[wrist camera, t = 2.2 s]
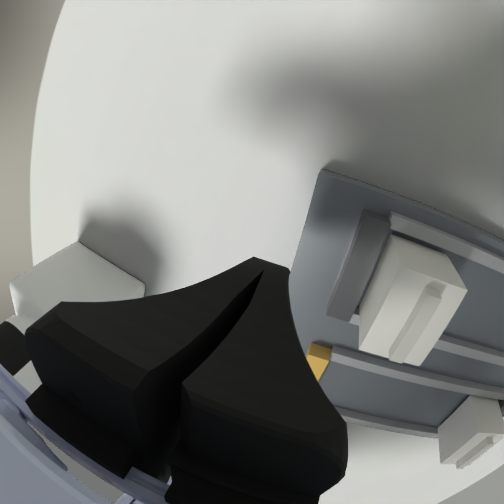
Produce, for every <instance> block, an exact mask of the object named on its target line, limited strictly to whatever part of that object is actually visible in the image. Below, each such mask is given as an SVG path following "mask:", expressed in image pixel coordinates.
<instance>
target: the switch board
mask: <svg viewBox="0 0 504 504" xmlns="http://www.w3.org/2000/svg"><path fill="white" fill-rule="evenodd" d="M391 234H393V235H396V236H398V237H401V238H404V239H407V240H409V241H412V242H415V243H417V244H420V245H423V246H425V247H428V248H431V249H433V250H436V251H438V252H441V253H444V254H446V255H447V256H448V258H449V259H450V261H451V262H452V264H453V266H454V267H455V269H456V271H457V272H458V274H459V276H460V278H461V279H462V281H463V283H464V285H465V286H466V288H467V290H468V291H467V293H466V294H465V296H464V298H463V300H462V302H461V303H460V305H459V307H458V308H457V310H456V312H455V314H454V315H453V317H452V319H451V320H450V322H449V323H448V325H447V327H446V328H445V330H444V331H443V333H442V334H441V336H440V337H439V339H438V340H437V342H436V343H435V345H434V346H433V348H432V349H431V351H430V352H429V354H428V355H427V357H426V358H425V359H424V361H423V362H422V363H421V365H420V366H416V365H412V364H408V363H404V362H403V363H402V364H401V363H397V362H394V361H390V360H389V358H386V357H382V356H379V355H375V354H372V353H368V352H365V351H361V350H359V307H360V304H361V302H362V300H363V298H364V296H365V294H366V292H367V289H368V287H369V285H370V283H371V280H372V278H373V276H374V274H375V271H376V269H377V267H378V264H379V262H380V259H381V257H382V255H383V252H384V250H385V247H386V245H387V242H388V240H389V237H390V235H391ZM289 297H290V305H291V311H292V315H293V320H294V324H295V328H296V331H297V335H298V338H299V341H300V344H301V346H302V349H303V351H304V354H305V356H306V359H307V361H308V363H309V365H310V367H311V369H312V371H313V373H314V375H315V377H316V379H317V381H318V383H319V384H320V386H321V388H322V389H323V391H324V393H325V394H326V396H327V397H328V399H329V400H330V402H331V403H332V404H333V406H334V407H335V408H336V410H337V411H338V412H339V414H340V415H341V416H342V418H343V419H344V420H345V422H349V423H354V424H358V425H362V426H367V427H372V428H377V429H382V430H387V431H392V432H398V433H404V434H410V435H416V436H423V437H430V438H438V427H439V426H440V425H441V424H443V423H444V422H445V421H446V420H447V419H448V418H449V417H450V416H451V415H452V414H453V413H454V412H455V411H456V410H457V409H458V408H459V407H460V405H461V404H462V403H463V402H464V401H465V400H466V399H467V398H468V397H469V396H470V395H474V396H479V397H485V398H491V399H498V402H499V406H500V409H501V413H502V417H504V240H502V239H500V238H498V237H496V236H494V235H492V234H490V233H488V232H486V231H484V230H481V229H479V228H477V227H475V226H473V225H471V224H468V223H466V222H464V221H462V220H459V219H457V218H455V217H453V216H450V215H448V214H446V213H443V212H441V211H438V210H436V209H434V208H431V207H429V206H426V205H424V204H421V203H419V202H416V201H413V200H411V199H408V198H406V197H403V196H400V195H398V194H395V193H392V192H389V191H387V190H384V189H381V188H378V187H375V186H373V185H370V184H367V183H364V182H361V181H358V180H355V179H352V178H349V177H345V176H342V175H339V174H336V173H333V172H330V171H326V170H323V169H321V170H320V172H319V174H318V178H317V182H316V186H315V189H314V193H313V197H312V200H311V204H310V207H309V211H308V214H307V218H306V222H305V225H304V228H303V232H302V235H301V239H300V242H299V246H298V249H297V252H296V256H295V259H294V262H293V266H292V269H291V272H290V276H289Z"/></svg>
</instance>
